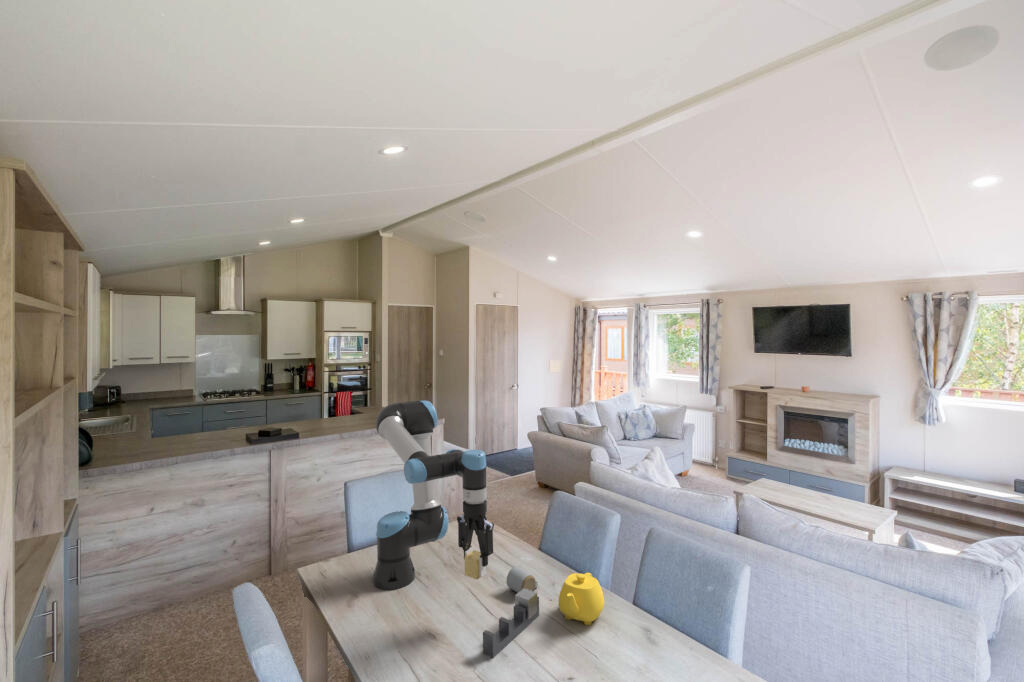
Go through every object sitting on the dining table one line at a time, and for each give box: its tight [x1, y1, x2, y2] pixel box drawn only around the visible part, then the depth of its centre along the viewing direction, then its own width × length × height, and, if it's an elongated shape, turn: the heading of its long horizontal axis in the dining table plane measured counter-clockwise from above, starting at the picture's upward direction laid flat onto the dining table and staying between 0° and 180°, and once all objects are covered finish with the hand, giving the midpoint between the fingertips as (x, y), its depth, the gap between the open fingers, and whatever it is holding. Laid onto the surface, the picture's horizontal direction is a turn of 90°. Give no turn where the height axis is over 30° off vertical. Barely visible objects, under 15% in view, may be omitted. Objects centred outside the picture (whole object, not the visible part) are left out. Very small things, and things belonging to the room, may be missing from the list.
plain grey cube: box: [514, 588, 538, 619], centre depth 149 cm, size 5×5×6 cm
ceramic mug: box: [506, 565, 539, 593], centre depth 167 cm, size 11×8×8 cm
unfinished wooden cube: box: [463, 550, 488, 580], centre depth 151 cm, size 5×5×6 cm
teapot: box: [558, 572, 605, 626], centre depth 151 cm, size 14×20×13 cm
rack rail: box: [482, 595, 540, 659], centre depth 143 cm, size 4×24×6 cm, turn 144°
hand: (475, 572), depth 151 cm, fingers closed on unfinished wooden cube, 5 cm apart
